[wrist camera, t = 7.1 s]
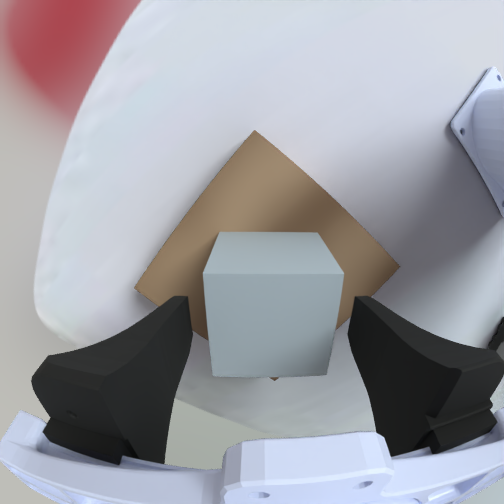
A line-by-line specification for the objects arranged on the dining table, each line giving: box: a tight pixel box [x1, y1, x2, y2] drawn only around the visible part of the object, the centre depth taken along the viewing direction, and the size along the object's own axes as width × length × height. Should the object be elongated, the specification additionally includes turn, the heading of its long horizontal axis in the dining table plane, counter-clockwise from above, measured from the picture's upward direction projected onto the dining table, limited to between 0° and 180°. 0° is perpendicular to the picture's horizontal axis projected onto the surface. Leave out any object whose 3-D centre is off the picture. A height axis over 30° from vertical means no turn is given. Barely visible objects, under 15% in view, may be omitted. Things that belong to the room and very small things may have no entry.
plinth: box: [134, 130, 400, 381], centre depth 17 cm, size 11×11×2 cm
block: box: [203, 232, 344, 377], centre depth 13 cm, size 5×5×5 cm
